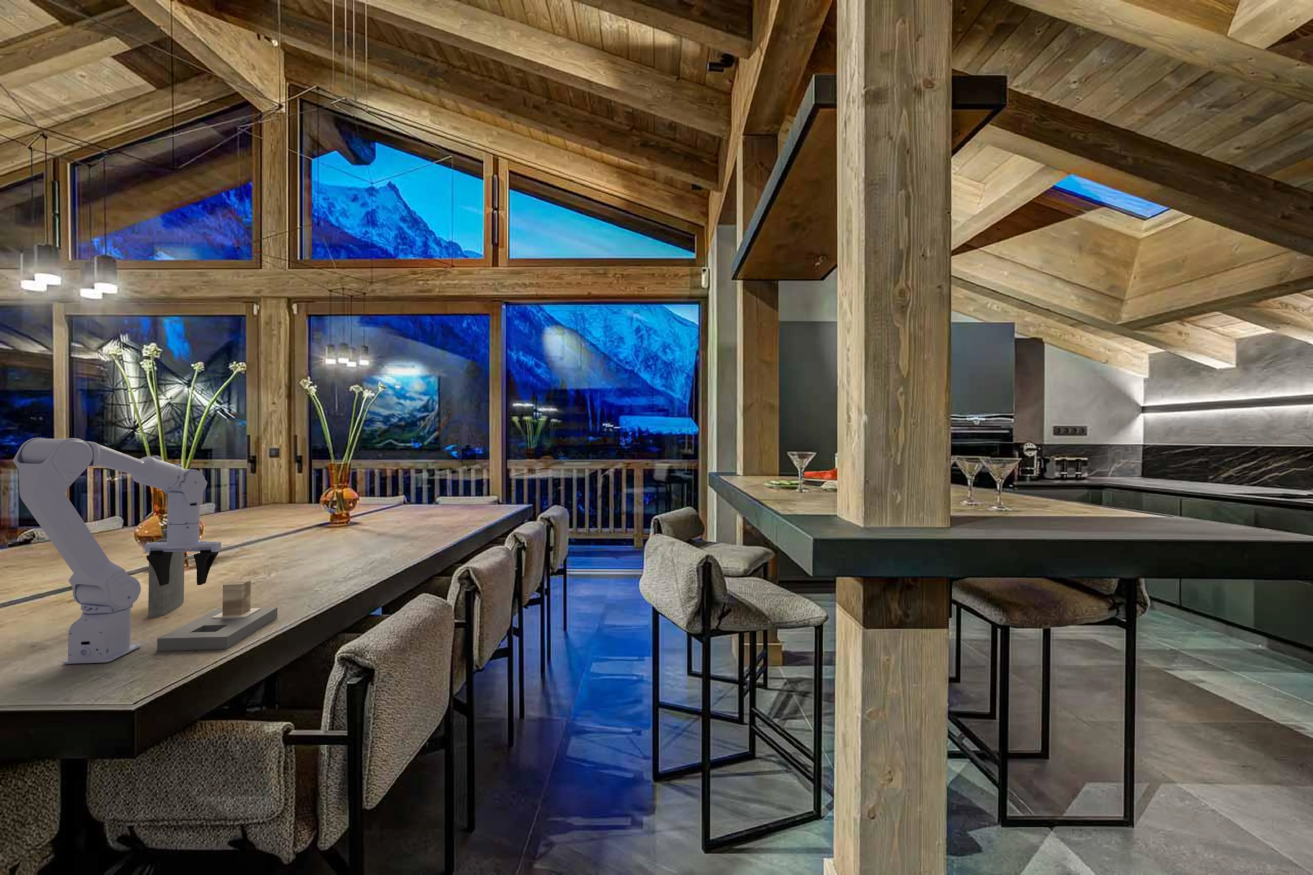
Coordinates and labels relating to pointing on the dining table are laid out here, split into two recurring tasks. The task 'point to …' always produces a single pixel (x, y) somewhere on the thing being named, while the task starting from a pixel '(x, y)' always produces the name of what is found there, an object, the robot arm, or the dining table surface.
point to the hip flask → (166, 586)
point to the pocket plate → (216, 630)
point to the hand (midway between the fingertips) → (182, 584)
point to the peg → (236, 597)
